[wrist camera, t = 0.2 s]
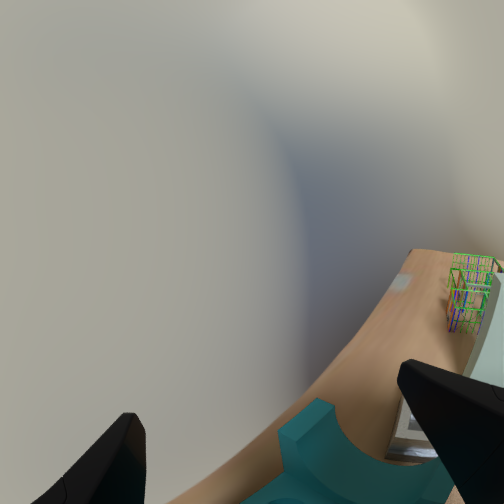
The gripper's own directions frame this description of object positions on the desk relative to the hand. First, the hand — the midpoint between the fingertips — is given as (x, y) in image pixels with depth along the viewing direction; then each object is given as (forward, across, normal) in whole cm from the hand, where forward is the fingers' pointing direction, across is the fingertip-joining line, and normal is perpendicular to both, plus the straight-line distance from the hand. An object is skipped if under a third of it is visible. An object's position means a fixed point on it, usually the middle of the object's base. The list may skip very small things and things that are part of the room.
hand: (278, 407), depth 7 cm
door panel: (+5, -26, +17) cm, 31 cm away
